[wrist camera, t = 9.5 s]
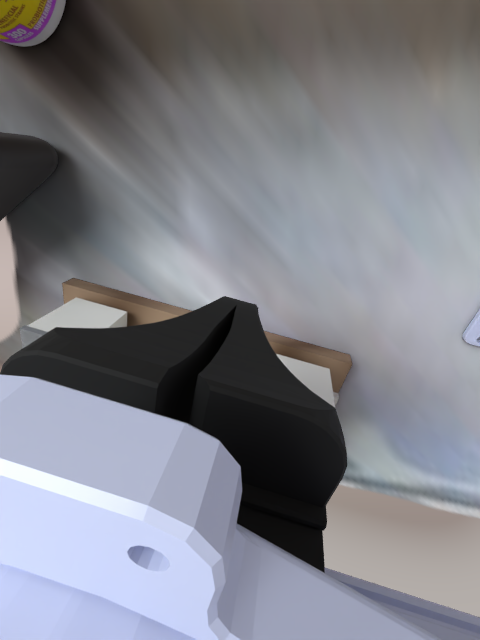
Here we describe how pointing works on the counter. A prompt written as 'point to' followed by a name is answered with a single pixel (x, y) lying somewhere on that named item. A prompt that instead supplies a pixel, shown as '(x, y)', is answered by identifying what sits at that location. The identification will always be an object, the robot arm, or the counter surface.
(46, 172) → the leaning round-cornered charcoal block
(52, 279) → the counter surface
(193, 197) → the counter surface
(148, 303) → the rail board
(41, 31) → the supplement bottle
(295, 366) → the mounted modules
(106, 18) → the counter surface
